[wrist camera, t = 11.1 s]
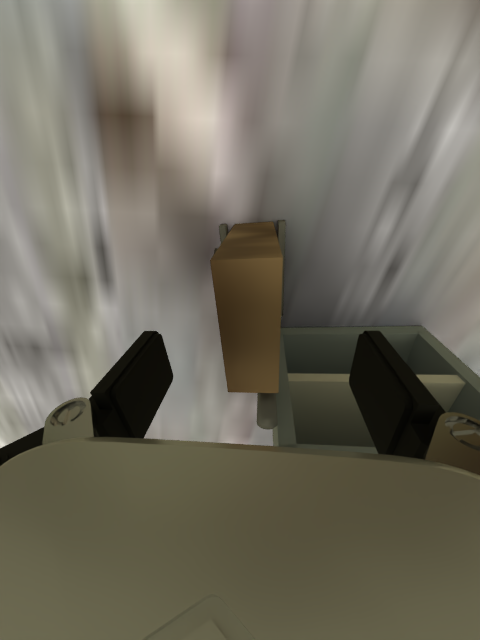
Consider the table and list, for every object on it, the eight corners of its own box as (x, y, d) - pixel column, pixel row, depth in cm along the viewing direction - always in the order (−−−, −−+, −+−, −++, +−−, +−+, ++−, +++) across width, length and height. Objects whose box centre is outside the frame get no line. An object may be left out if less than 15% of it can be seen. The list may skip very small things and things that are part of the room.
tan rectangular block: (273, 221, 18) (282, 257, 9) (272, 310, 22) (278, 393, 13) (225, 224, 18) (191, 261, 9) (233, 311, 22) (215, 391, 14)
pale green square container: (388, 409, 27) (473, 563, 16) (240, 405, 29) (227, 540, 18) (470, 207, 16) (940, 261, 5) (221, 224, 18) (153, 289, 7)
